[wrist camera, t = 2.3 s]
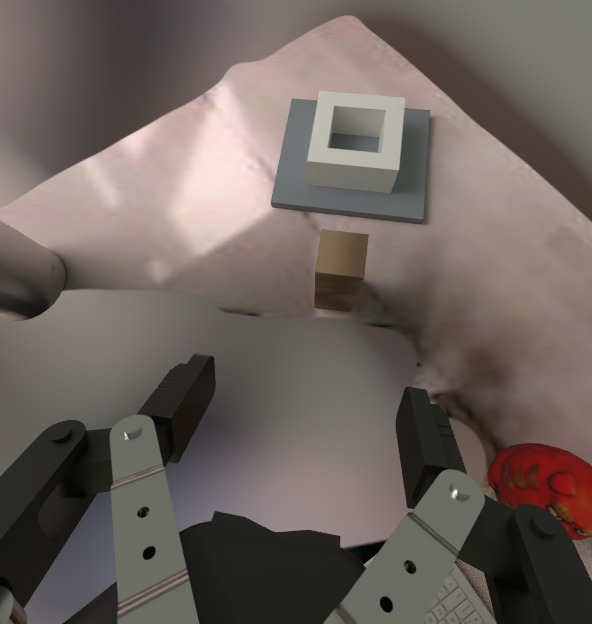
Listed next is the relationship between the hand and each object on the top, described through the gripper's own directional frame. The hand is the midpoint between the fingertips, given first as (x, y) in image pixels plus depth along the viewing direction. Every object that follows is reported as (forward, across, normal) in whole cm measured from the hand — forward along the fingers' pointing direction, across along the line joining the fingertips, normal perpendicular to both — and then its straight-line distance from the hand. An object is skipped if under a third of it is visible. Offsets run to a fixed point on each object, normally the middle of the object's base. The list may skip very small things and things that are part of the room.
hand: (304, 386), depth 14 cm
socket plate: (+36, -1, -6) cm, 37 cm away
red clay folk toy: (+13, -21, +18) cm, 31 cm away
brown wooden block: (+24, -1, +7) cm, 25 cm away
